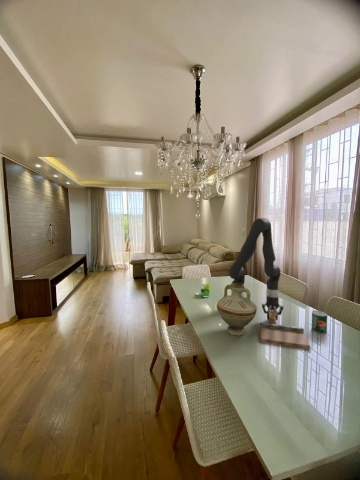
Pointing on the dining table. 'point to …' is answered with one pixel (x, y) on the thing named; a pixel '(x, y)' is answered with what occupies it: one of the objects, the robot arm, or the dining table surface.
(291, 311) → the dining table surface
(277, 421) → the dining table surface
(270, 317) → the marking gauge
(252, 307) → the amphora
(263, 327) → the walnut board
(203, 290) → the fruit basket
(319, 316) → the canned tomato
